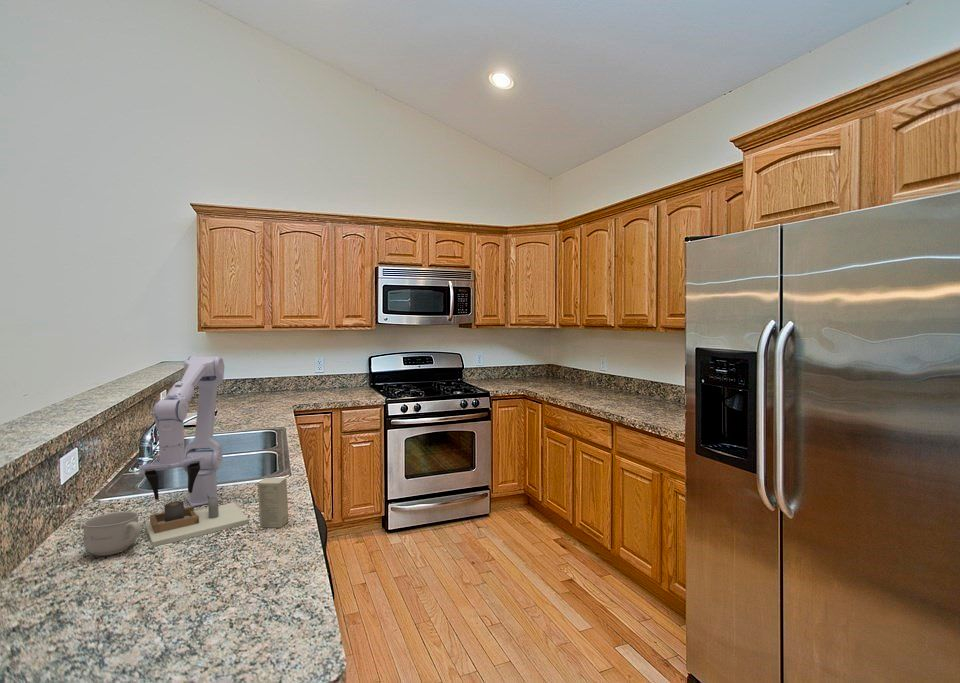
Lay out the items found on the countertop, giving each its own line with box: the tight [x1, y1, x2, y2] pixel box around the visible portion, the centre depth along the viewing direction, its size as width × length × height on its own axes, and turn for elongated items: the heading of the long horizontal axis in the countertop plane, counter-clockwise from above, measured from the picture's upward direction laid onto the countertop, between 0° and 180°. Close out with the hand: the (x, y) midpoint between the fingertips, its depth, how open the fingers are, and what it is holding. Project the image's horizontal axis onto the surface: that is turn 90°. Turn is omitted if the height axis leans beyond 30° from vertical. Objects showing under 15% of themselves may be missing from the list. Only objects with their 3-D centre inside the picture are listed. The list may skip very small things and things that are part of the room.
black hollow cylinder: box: [163, 501, 185, 522], centre depth 134 cm, size 4×4×5 cm
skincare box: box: [257, 477, 289, 529], centre depth 135 cm, size 6×4×12 cm
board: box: [144, 494, 250, 548], centre depth 136 cm, size 16×22×6 cm
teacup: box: [82, 510, 142, 557], centre depth 121 cm, size 14×11×8 cm
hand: (173, 495), depth 134 cm, fingers open, 7 cm apart
